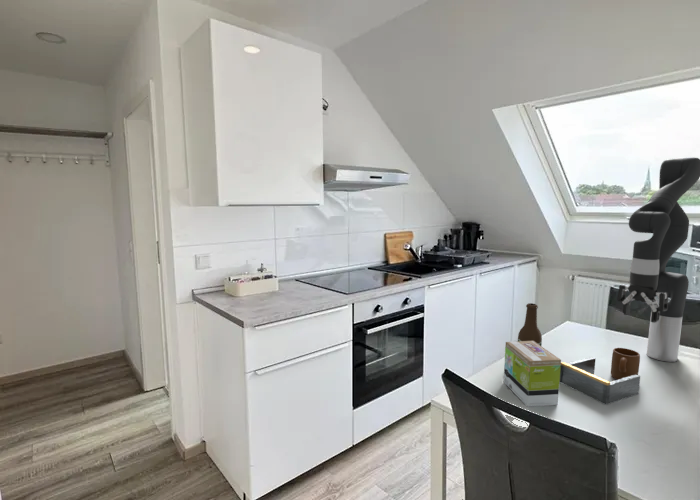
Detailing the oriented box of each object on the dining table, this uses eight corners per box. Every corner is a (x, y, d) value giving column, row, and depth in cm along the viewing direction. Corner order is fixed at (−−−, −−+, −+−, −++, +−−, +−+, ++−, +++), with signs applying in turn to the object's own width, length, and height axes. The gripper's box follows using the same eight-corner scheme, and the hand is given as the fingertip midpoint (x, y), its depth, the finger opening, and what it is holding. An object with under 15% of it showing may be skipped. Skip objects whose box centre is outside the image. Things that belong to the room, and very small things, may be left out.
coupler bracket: (590, 373, 133) (592, 354, 132) (638, 393, 119) (640, 373, 118) (559, 381, 127) (560, 362, 126) (605, 404, 113) (607, 383, 112)
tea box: (502, 383, 126) (504, 340, 124) (530, 381, 127) (533, 339, 125) (526, 407, 112) (530, 359, 109) (559, 406, 112) (563, 358, 110)
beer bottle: (538, 366, 139) (542, 302, 136) (541, 375, 132) (546, 308, 128) (515, 362, 142) (519, 300, 138) (516, 371, 134) (521, 306, 131)
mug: (634, 390, 121) (637, 362, 120) (606, 383, 126) (608, 356, 125) (638, 377, 130) (641, 351, 129) (612, 371, 135) (614, 345, 134)
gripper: (676, 274, 122) (670, 323, 124) (629, 267, 135) (625, 311, 137) (661, 276, 119) (656, 326, 121) (615, 268, 132) (611, 313, 134)
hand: (639, 318), depth 129 cm, fingers open, 8 cm apart
